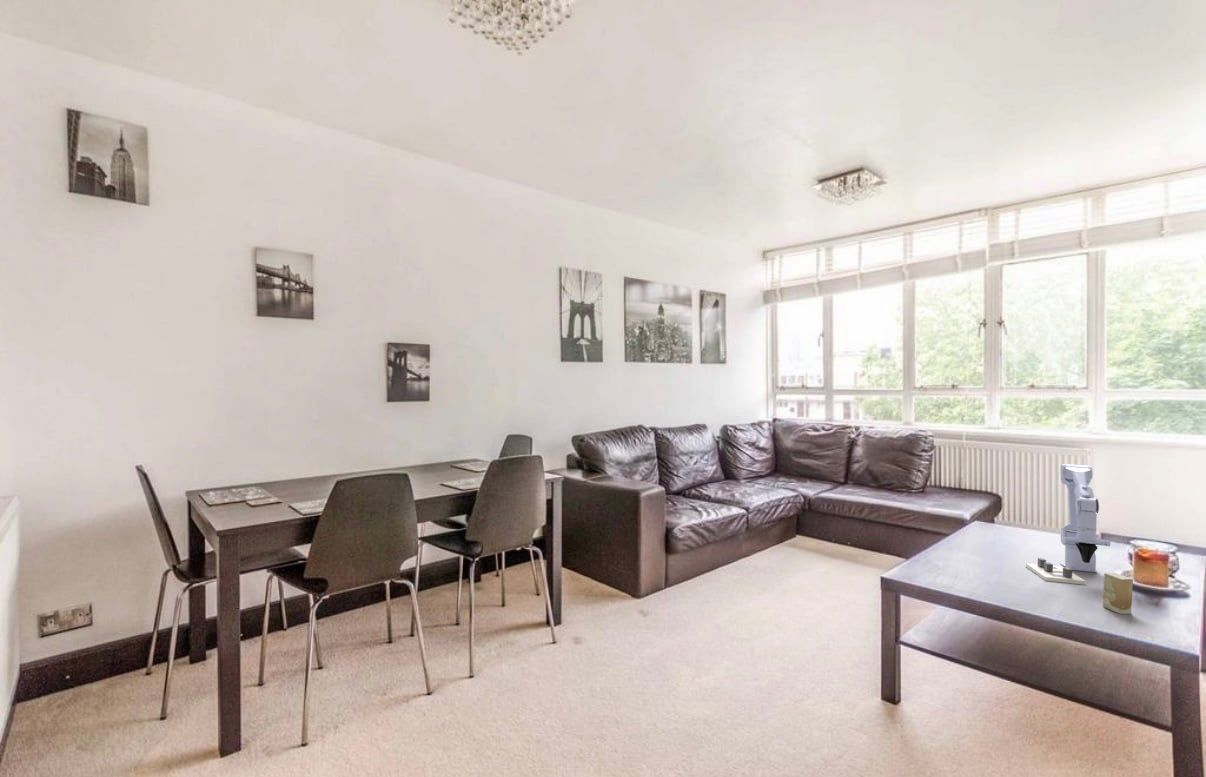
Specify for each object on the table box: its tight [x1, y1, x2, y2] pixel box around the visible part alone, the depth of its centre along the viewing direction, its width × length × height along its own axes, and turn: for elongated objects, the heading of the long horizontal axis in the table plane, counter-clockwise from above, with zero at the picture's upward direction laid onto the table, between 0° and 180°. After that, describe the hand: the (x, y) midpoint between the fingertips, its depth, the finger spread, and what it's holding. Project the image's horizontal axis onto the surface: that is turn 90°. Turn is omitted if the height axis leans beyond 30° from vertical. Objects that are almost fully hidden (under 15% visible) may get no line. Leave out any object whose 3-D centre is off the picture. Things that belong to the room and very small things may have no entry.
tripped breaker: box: [1063, 567, 1073, 578], centre depth 214 cm, size 2×2×3 cm
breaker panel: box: [1025, 557, 1086, 585], centre depth 220 cm, size 13×17×5 cm
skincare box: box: [1102, 572, 1134, 615], centre depth 186 cm, size 6×4×12 cm
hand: (1085, 562), depth 212 cm, fingers closed
